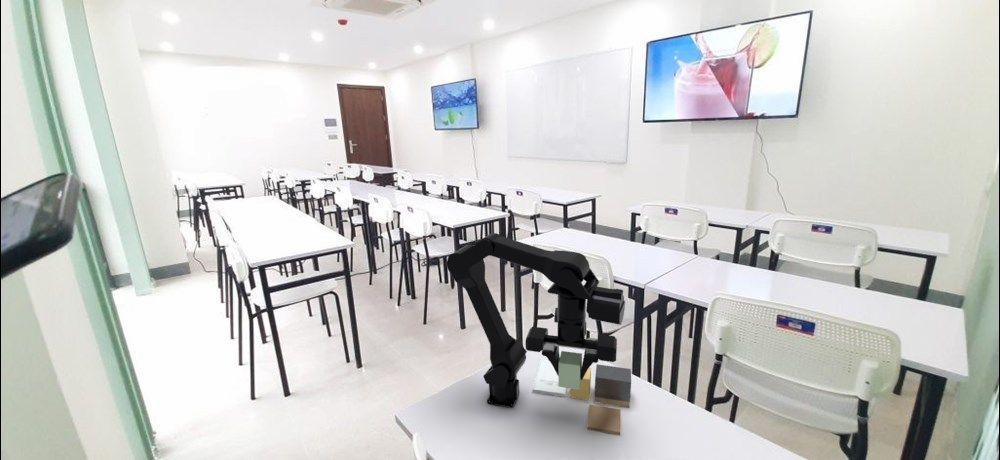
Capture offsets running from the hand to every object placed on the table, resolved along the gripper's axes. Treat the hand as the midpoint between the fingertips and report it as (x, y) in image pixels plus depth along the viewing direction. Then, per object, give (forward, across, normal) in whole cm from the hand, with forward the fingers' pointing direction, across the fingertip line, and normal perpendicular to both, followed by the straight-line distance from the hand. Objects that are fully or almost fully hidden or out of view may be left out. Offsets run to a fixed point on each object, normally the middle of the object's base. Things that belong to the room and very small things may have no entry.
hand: (570, 376), depth 89 cm
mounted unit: (+11, -9, -9) cm, 17 cm away
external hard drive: (+12, +6, -13) cm, 18 cm away
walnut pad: (+11, -8, -1) cm, 13 cm away
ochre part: (+11, -2, -9) cm, 14 cm away
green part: (+1, 0, 0) cm, 1 cm away
